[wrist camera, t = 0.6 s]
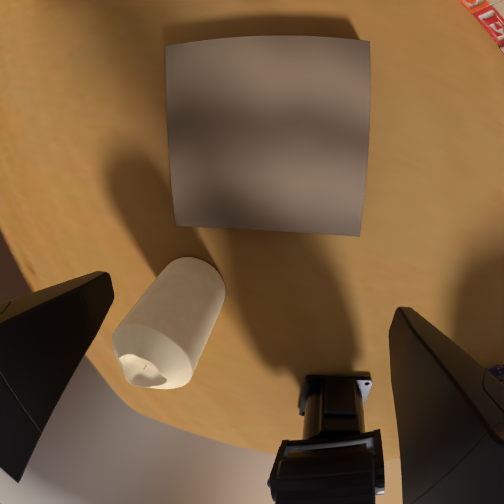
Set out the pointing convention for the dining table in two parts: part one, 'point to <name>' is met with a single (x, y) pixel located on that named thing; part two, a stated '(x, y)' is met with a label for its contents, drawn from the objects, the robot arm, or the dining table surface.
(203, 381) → the dining table surface
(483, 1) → the stack of blocks
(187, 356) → the candle
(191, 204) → the grey square slab
